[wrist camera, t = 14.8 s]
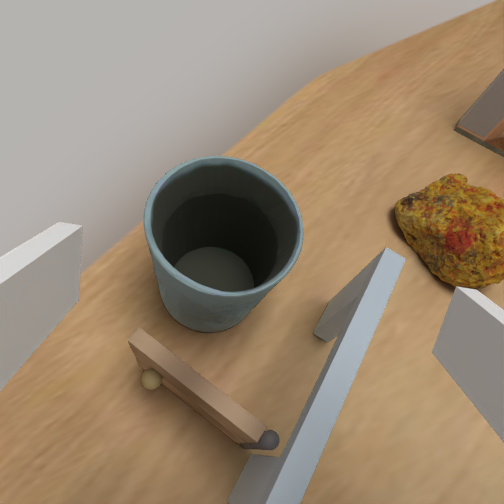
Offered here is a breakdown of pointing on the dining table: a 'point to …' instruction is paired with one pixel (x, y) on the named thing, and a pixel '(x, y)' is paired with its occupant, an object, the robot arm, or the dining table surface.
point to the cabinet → (486, 118)
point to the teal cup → (220, 239)
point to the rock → (456, 231)
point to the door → (198, 393)
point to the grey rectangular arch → (324, 387)
